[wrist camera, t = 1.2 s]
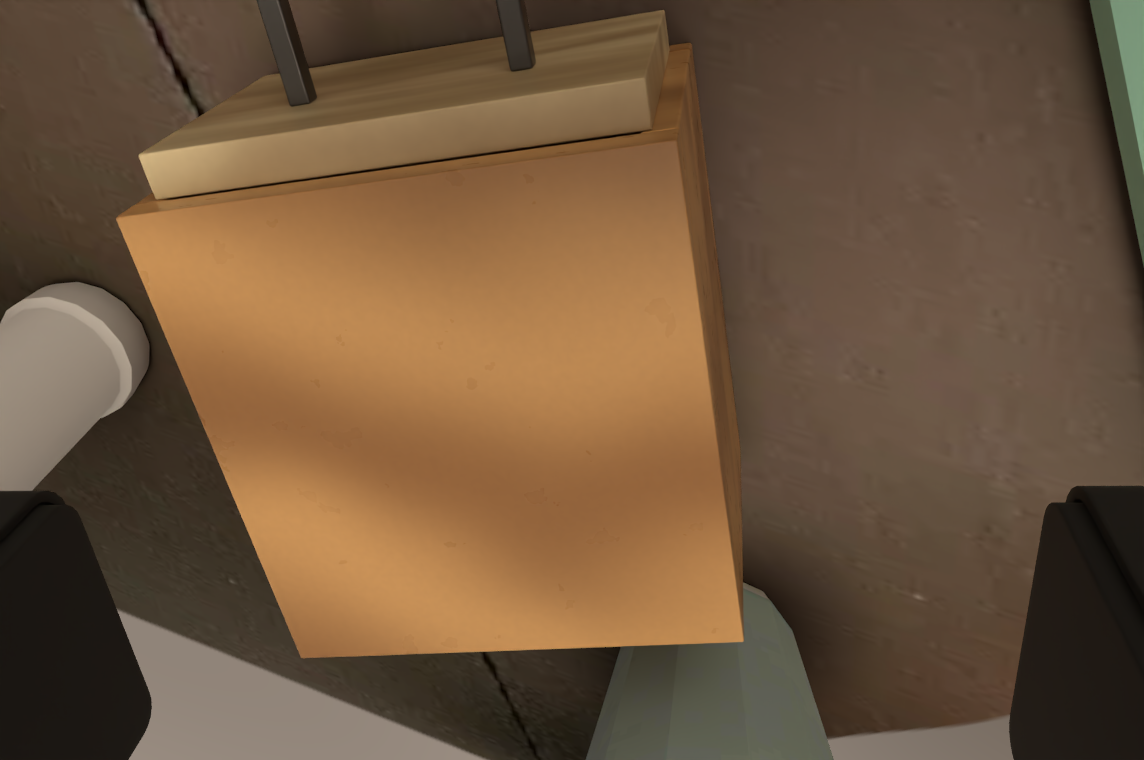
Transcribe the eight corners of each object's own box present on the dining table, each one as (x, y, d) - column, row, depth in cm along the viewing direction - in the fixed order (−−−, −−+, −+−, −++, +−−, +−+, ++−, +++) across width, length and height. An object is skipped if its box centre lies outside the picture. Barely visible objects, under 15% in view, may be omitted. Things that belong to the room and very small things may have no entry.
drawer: (208, -95, 29) (51, -59, 22) (639, -183, 27) (609, -173, 20) (380, 438, 38) (305, 579, 31) (716, 410, 35) (714, 557, 29)
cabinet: (269, 108, 33) (114, 217, 25) (691, 41, 30) (677, 139, 22) (390, 476, 40) (300, 658, 32) (740, 450, 37) (744, 642, 29)
